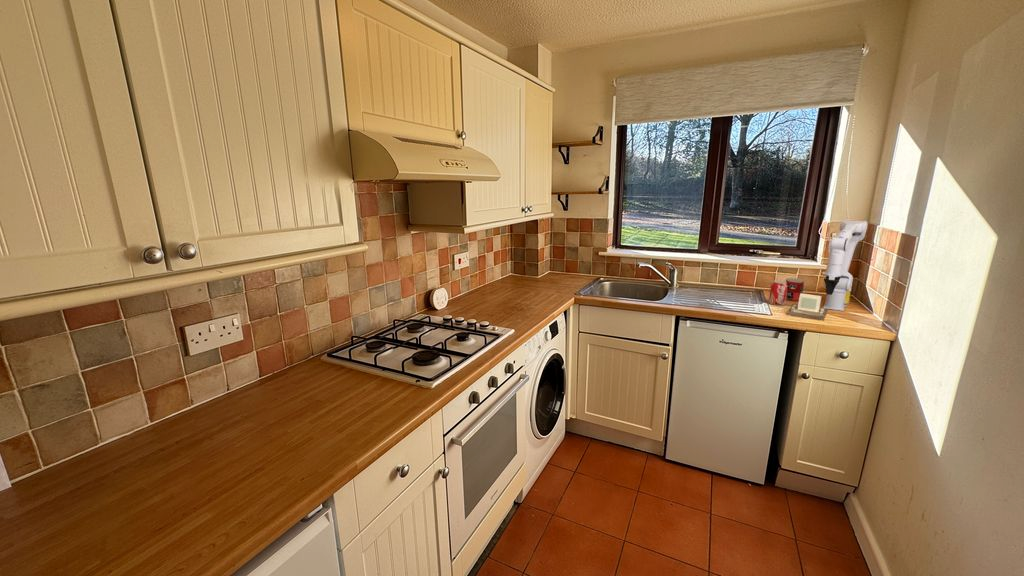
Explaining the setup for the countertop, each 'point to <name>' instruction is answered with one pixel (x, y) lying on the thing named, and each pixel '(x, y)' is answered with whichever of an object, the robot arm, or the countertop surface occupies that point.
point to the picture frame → (809, 302)
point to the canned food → (794, 289)
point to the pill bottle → (847, 298)
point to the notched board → (807, 313)
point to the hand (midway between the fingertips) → (829, 292)
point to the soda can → (778, 293)
